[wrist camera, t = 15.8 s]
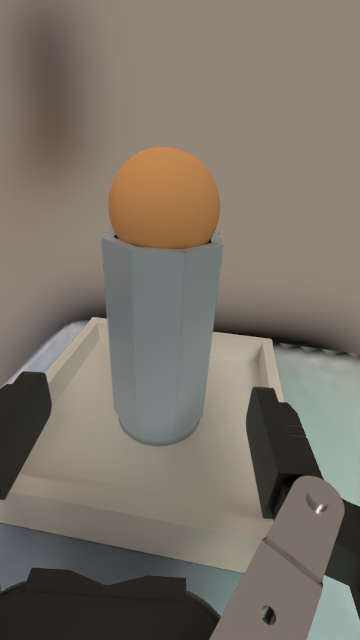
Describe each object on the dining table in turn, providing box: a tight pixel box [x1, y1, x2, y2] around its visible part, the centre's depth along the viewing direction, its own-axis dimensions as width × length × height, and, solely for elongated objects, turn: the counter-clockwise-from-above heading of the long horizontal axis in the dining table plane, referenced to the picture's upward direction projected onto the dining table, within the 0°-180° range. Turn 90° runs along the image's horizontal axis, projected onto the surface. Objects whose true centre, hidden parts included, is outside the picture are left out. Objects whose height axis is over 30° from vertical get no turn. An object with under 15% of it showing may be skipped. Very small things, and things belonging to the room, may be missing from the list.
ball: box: [109, 147, 220, 249], centre depth 14 cm, size 5×5×5 cm
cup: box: [101, 227, 223, 446], centre depth 18 cm, size 6×6×12 cm
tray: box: [0, 317, 284, 573], centre depth 21 cm, size 16×16×3 cm
